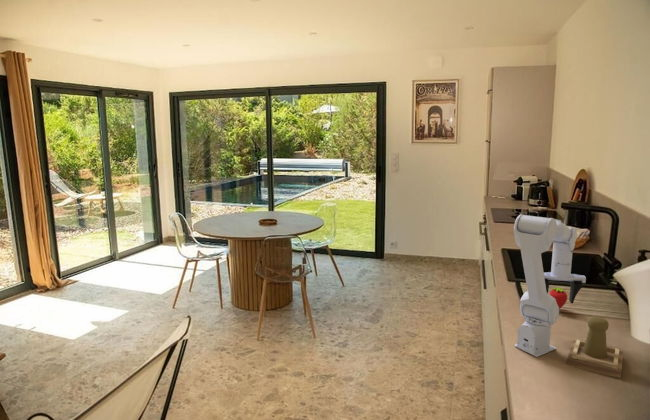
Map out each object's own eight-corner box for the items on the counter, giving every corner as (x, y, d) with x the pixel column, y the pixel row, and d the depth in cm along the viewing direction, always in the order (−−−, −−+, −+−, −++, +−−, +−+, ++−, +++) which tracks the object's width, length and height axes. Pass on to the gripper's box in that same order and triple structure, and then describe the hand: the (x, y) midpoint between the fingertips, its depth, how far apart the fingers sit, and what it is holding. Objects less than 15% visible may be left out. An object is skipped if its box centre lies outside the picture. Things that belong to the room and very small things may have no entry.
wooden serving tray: (620, 378, 120) (621, 368, 119) (566, 364, 127) (567, 355, 127) (622, 357, 130) (623, 348, 130) (572, 346, 138) (573, 337, 137)
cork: (586, 346, 133) (589, 312, 131) (609, 352, 129) (612, 317, 127) (580, 353, 129) (584, 318, 127) (604, 361, 125) (608, 324, 123)
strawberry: (550, 313, 162) (552, 287, 160) (546, 305, 169) (548, 280, 167) (568, 314, 160) (570, 288, 158) (563, 306, 167) (565, 281, 166)
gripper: (582, 259, 146) (579, 298, 148) (535, 257, 150) (532, 294, 152) (589, 266, 139) (585, 306, 142) (539, 263, 143) (536, 302, 146)
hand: (558, 301), depth 146 cm, fingers open, 7 cm apart
